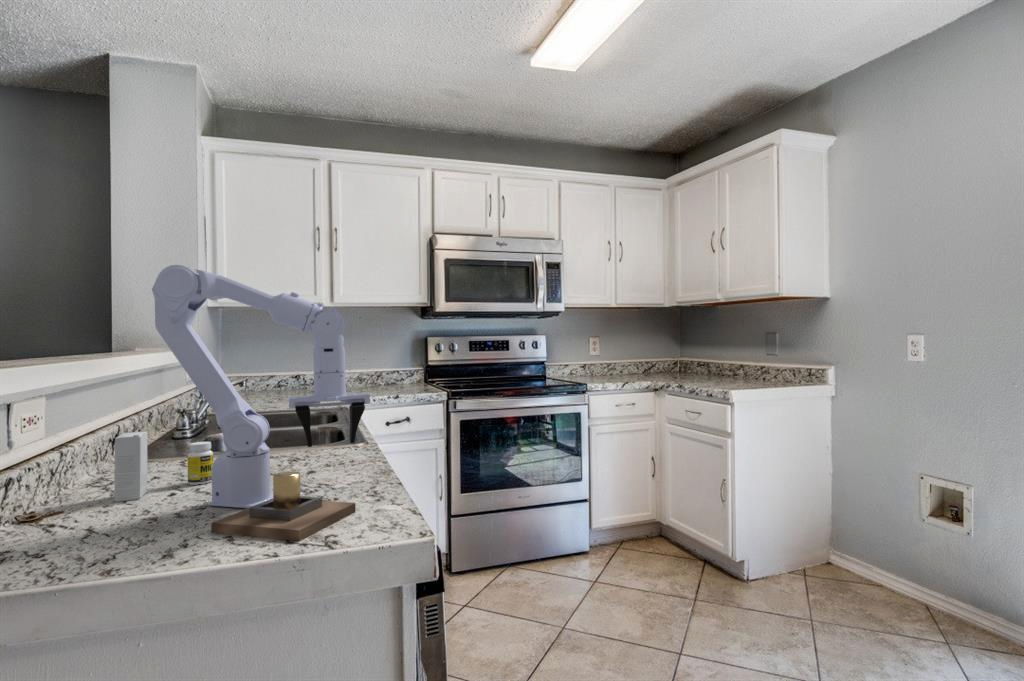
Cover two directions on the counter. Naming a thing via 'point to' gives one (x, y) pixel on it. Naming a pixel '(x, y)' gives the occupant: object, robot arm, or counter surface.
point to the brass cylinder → (286, 490)
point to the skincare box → (130, 466)
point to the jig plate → (284, 522)
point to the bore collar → (282, 514)
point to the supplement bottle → (200, 463)
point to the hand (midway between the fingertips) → (331, 444)
